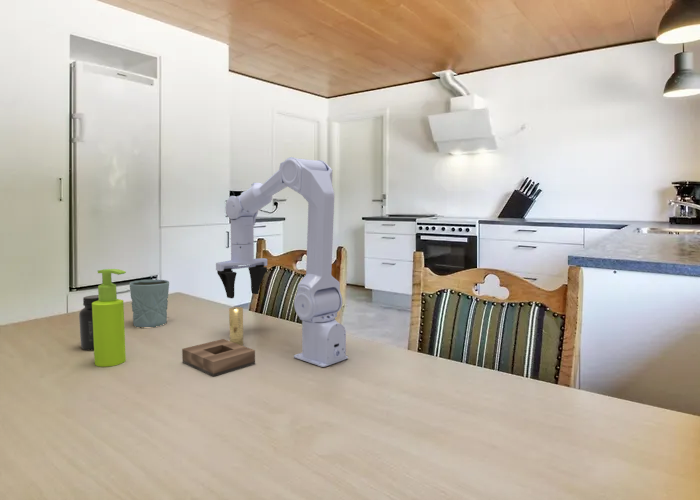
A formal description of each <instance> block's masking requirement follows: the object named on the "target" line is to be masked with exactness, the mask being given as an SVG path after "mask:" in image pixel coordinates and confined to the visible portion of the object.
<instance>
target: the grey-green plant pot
mask: <svg viewBox="0 0 700 500" xmlns="http://www.w3.org/2000/svg"><path fill="white" fill-rule="evenodd" d="M169 288H170V281H169V280H166V279H141V280H135V281H131V282H129V291H130V292H129V293H130V299H131V309H132V310H131V311H132V322H133V327H134V326H136V327H135V328H137V327H153V328H157V327H156V326H159V327H161V326H160V325H162V326H164V325H163V324H165V323H166V324H167V322H168V321H167V320H168V312H167V311H168V304H169V300H168V298H169V291H170V290H169ZM166 324H165V325H166Z"/></svg>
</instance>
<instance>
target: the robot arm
mask: <svg viewBox="0 0 700 500" xmlns="http://www.w3.org/2000/svg"><path fill="white" fill-rule="evenodd" d="M286 188H289V189H291V190H293V191H294V192H296V193H297V194H299V195H301V196H302V197H303V199H305V200H306V202H307V204H308V205H307V206H308V209H307V233H306V235H307V237H306V239H307V240H306V267H305V268H306V271H305V275H304V277H303V278H302V279H301V280H300V281H299V282H298V284H297V291H296V294H295V297H294V301H293V305H294V306H293V307H294V311H295V313H296V315H297V316H298V318H299V320H301V322H302V324H301V325H302V326H301V330H302V331H301V334H302V335H301V338H302V340H301V343H302V344H301V352H300V353H297V354H293V358H295V359H298V360H301V361H304V362H307V363H309V364H313V365H316V366H318V367H321V368H325V367H328V366H331V365H334V364H337V363H339V362H342V361H346V360H347V359H349V356H348V355H346V352H347V351H346V350H347V349H346V348H347V344H346V342H347V341H346V340H347V339H346V338H347V337H346V336H347V333H346V332H347V331H346V329H345V326H344V325H343V324H342V323H340V322H338V321H337V320H336V318H337V317H338V312H340V310H341V309H342V306H343V297H342V296H343V295H342V293H341V282H340V281H339V280H338V279H336V277H334V276H333V275H332V269H333V268H332V264H333V240H334V214H335V192H334V191H335V190H334V188H333V169H332V168H331V166H330V165H329V164H328V163H327V162H325V160H322V159H317V160H316V159H315V160H314V159H307V158H297V157H294V156H293V157H292V156H291V157H287V158H285V160H283V161H282V162H280V163H279V167H278V170H276V171H275V172H274V173H273V174H272V175H271V176H270V177H268V178H267V180H265V182H253V183H251V186H250V187H249V188H248V189H246V190H244V191H242V192H241V194H240V195H237V196H235V195H230V196H229V197H228V198H227V200H226V203H225V213H226V216H227V218H229V219H230V259H231V260H227V261H220V262H219V261H218V262H215V271H217V272H216V274H217V276H218V277H219V279H220V281H221V282H222V285H223V287H224V288H223V289H224V290H225V294H226V298H228V299H234V298H235V284H236V276H237V272H236V271H233V270H238V269H245V268H246V269H247V268H248V272H249V275H250V276H249V277H250V289H251V291H250V292H251V294H253V295H259V294H260V293H259V292H260V288H261V284H262V282H263V279H264V277H265V275H266V273H267V271H268V267H267V266H268V258H263V257H261V258H259V257H258V258H255V257H254V256H255V255H254V253H255V252H254V250H255V246H254V245H255V244H254V239H255V238H254V237H255V235H254V234H255V233H254V226H255V225H256V219H257V216H258V214H259V211H260V210H262V209H263V208H265V207H266V206H268V204H270V203H271V202H272V200H273V196H274V195H276V194H277V193H279V192H281V191H282V190H284V189H286Z"/></svg>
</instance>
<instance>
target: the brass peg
mask: <svg viewBox="0 0 700 500" xmlns="http://www.w3.org/2000/svg"><path fill="white" fill-rule="evenodd" d="M228 310H229V311H228V317H229V318H228V319H229V321H228V322H229V324H228V325H229V341H230V342H233V343H236V344H239V345H242V346H244V307H242V306H241V307H240V306H233V307H230V308H228Z"/></svg>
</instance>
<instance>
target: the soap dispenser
mask: <svg viewBox="0 0 700 500" xmlns="http://www.w3.org/2000/svg"><path fill="white" fill-rule="evenodd" d="M126 273H127V271H125V270H123V269H118V268H104V269H100V270H97V274H101V276H102V278H101V279H102V283H100V284H99V285H98V286H97V289H98V290H97V293H98V294H97V295H98V297H99V300H98V301H95V302H93V303H92V316H93V338H94V350H93V353H94V356H93V360H94V365H95V366H96V367H98V368H99V367H101V368H104V367H105V368H106V367H113V366H118V365H121V364H123V363H125V362H126V360H127V359H126V358H127V357H126V355H127V354H126V334H125V330H126V329H125V308H124V307H125V306H124V305H125V304H124V303H125V302H124V300H123V299H119V298H117V297H118V295H117V284H115V283H114V282H112V274H115V275H117V276H119V275H124V274H126Z"/></svg>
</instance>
